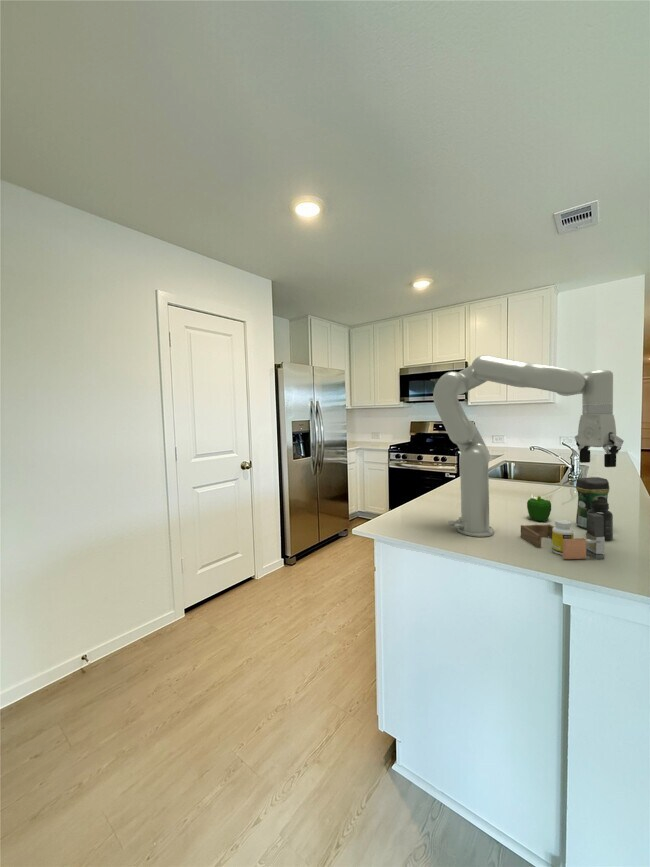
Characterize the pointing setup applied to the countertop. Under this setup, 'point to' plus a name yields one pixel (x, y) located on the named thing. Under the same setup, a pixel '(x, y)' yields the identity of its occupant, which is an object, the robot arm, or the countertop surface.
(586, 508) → the coffee jar
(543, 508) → the bell pepper
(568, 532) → the supplement bottle
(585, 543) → the carriage
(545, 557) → the countertop surface
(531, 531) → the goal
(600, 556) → the rail
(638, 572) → the countertop surface
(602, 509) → the supplement bottle
